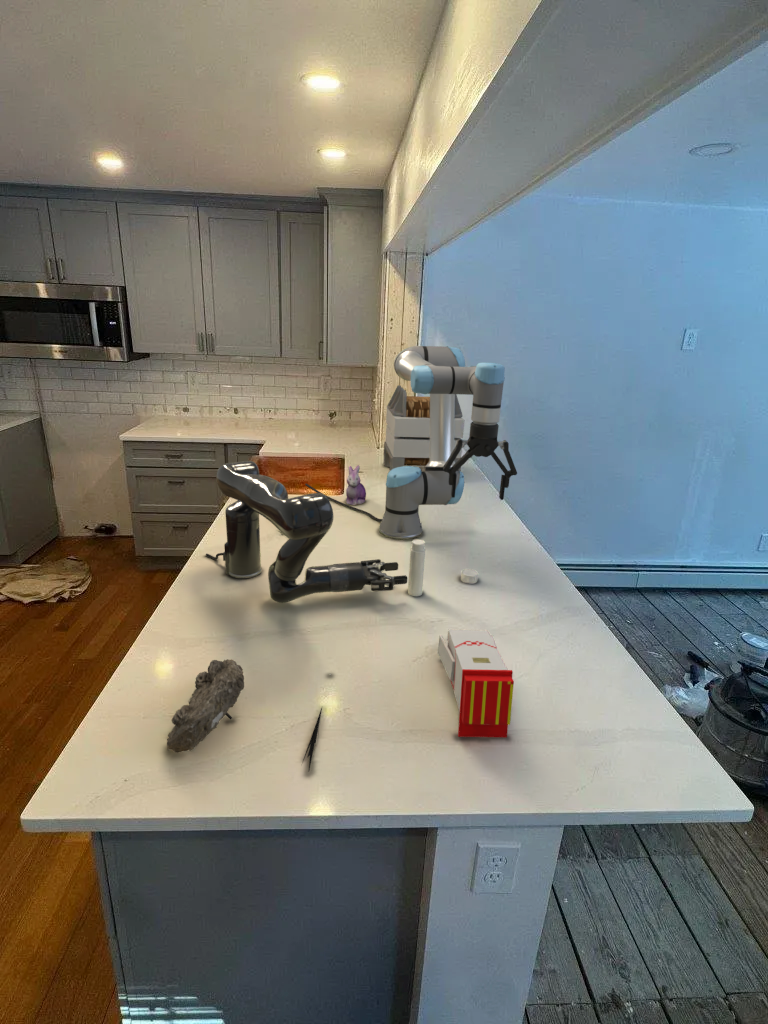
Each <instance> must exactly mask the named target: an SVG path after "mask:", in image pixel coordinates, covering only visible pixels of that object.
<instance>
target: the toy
mask: <svg viewBox="0 0 768 1024" xmlns="http://www.w3.org/2000/svg"><path fill="white" fill-rule="evenodd" d="M446 640H447V643H446V641H445V639H444V636H443V635H442V634H439V637H438V646H437V656H438V657H439V659H440V661H441V663H442V666H443V668H444V670H445V672H446V674H447V677H448V679H449V681H450V684H451V687H452V690H453V693H454V697H455V701H456V705H457V708H458V711H459V714H458V715H459V716H458V730H457V731H458V732H457V737H458V738H508V731H509V726H510V725H511V717H512V707H513V697H514V696H513V695H514V684H515V680H514V679H513V673H514V671H513V670H512V669H508V667H507V665H506V662H505V661H504V659H503V658H502V655H501V653H500V651H499V649H498V647H497V643H496V639H495V637H494V635H493V634H491V632H490V631H489V629H467V628H466V629H465V628H463V629H461V628H460V629H459V628H448V630H447V639H446Z"/></svg>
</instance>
